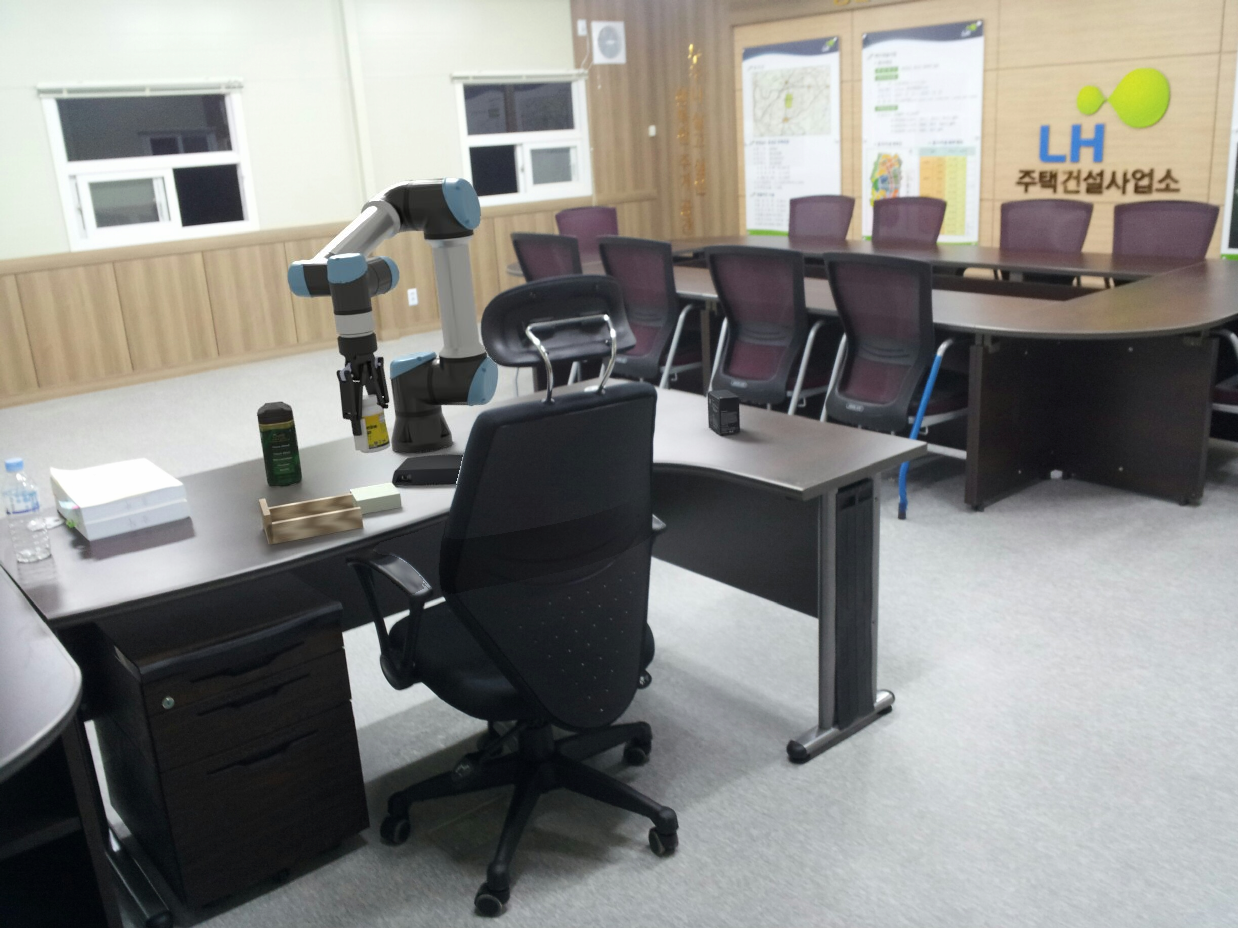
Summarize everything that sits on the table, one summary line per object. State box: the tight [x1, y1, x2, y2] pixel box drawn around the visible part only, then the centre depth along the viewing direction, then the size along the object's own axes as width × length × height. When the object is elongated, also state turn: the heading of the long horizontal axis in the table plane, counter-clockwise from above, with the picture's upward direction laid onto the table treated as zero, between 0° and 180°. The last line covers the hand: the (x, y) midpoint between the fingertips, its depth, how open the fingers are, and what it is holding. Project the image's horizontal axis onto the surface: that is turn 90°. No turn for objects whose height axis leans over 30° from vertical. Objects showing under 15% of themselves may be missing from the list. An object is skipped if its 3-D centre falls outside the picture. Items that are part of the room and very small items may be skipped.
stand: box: [349, 481, 403, 515], centre depth 228 cm, size 9×9×3 cm
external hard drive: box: [391, 453, 464, 487], centre depth 246 cm, size 13×19×4 cm
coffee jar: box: [256, 401, 303, 488], centre depth 247 cm, size 10×8×19 cm
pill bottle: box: [356, 394, 391, 454], centre depth 220 cm, size 6×6×11 cm
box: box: [706, 389, 741, 436], centre depth 268 cm, size 9×6×10 cm, turn 13°
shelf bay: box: [258, 492, 364, 546], centre depth 217 cm, size 18×11×6 cm, turn 113°
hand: (371, 444), depth 221 cm, fingers closed on pill bottle, 6 cm apart
